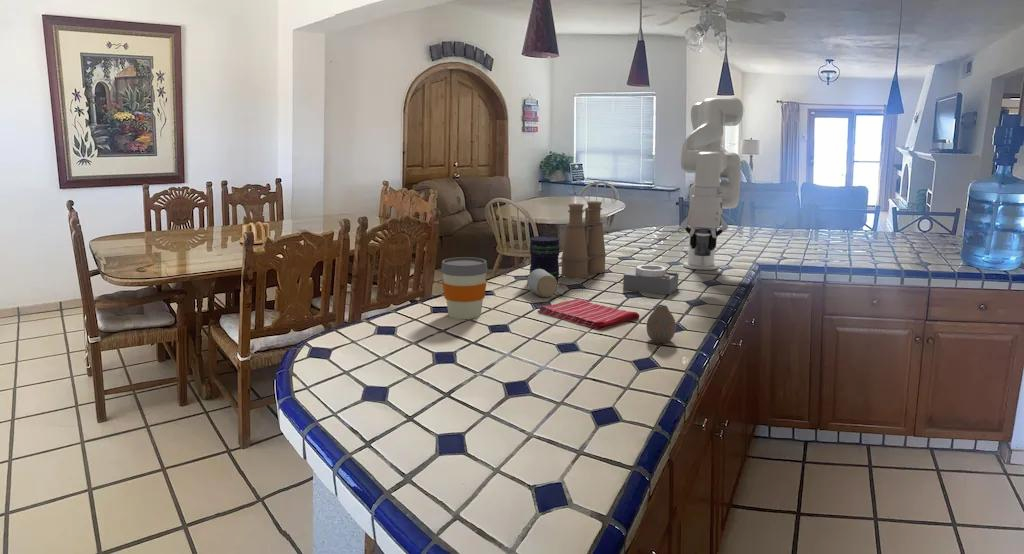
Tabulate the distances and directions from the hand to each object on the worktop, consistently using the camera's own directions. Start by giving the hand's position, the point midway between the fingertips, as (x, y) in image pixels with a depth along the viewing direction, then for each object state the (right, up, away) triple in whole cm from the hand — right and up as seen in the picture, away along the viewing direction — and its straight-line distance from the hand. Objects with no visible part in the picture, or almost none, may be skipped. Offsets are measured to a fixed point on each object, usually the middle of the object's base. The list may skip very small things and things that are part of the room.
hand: (702, 248), depth 216 cm
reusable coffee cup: (-74, -20, -29) cm, 82 cm away
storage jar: (-50, -11, +10) cm, 52 cm away
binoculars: (-36, -8, +25) cm, 44 cm away
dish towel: (-40, -21, -29) cm, 53 cm away
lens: (0, -2, 0) cm, 2 cm away
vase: (-25, -25, -51) cm, 62 cm away
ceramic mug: (-50, -15, -6) cm, 53 cm away
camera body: (-16, -13, +2) cm, 21 cm away
